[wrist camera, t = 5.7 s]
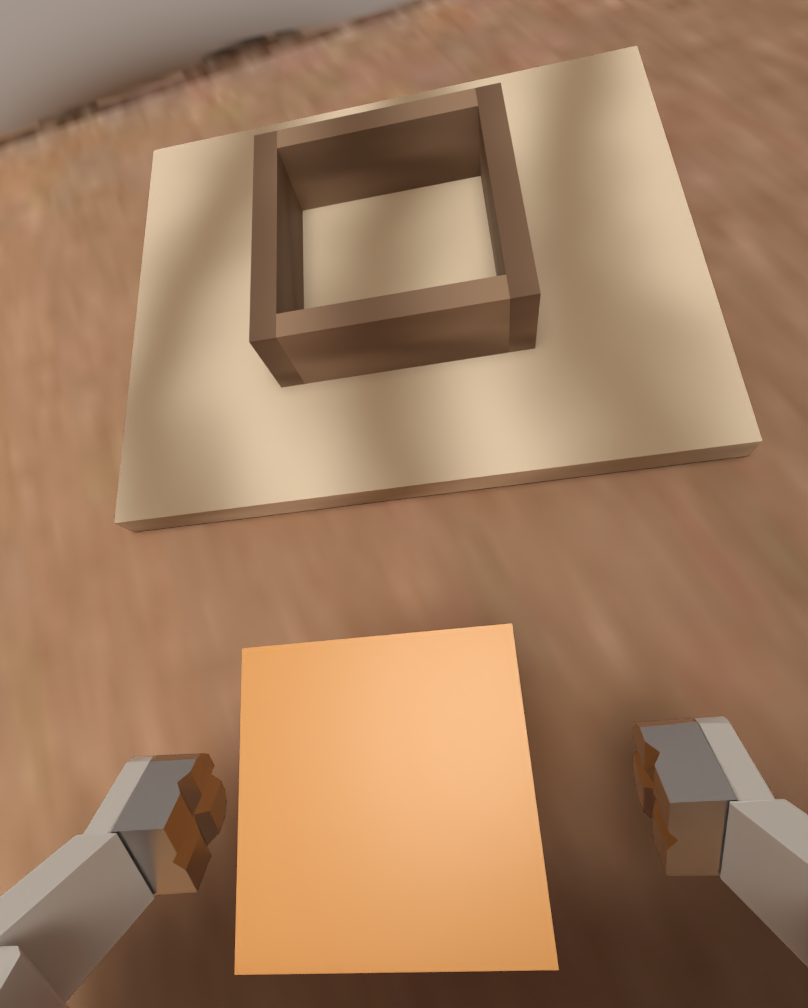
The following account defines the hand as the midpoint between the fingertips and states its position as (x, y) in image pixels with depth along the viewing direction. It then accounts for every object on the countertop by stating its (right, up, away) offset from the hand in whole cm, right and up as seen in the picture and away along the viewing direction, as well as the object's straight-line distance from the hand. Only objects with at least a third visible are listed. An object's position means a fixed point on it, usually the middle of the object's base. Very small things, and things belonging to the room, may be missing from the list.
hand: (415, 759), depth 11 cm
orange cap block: (+1, -1, +4) cm, 5 cm away
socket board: (0, +13, +9) cm, 16 cm away
